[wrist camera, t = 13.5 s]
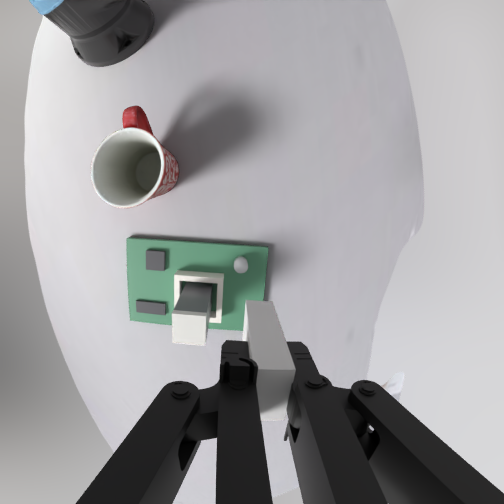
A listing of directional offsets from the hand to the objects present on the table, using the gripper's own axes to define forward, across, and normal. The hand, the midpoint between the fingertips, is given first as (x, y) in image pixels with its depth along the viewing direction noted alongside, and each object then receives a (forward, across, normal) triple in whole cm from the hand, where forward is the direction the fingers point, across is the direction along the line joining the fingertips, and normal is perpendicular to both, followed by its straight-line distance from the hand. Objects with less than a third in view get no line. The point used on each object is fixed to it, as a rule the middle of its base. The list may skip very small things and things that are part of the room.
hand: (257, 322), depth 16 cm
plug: (+27, -6, -9) cm, 29 cm away
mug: (+29, -14, +11) cm, 34 cm away
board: (+28, -7, -8) cm, 30 cm away
